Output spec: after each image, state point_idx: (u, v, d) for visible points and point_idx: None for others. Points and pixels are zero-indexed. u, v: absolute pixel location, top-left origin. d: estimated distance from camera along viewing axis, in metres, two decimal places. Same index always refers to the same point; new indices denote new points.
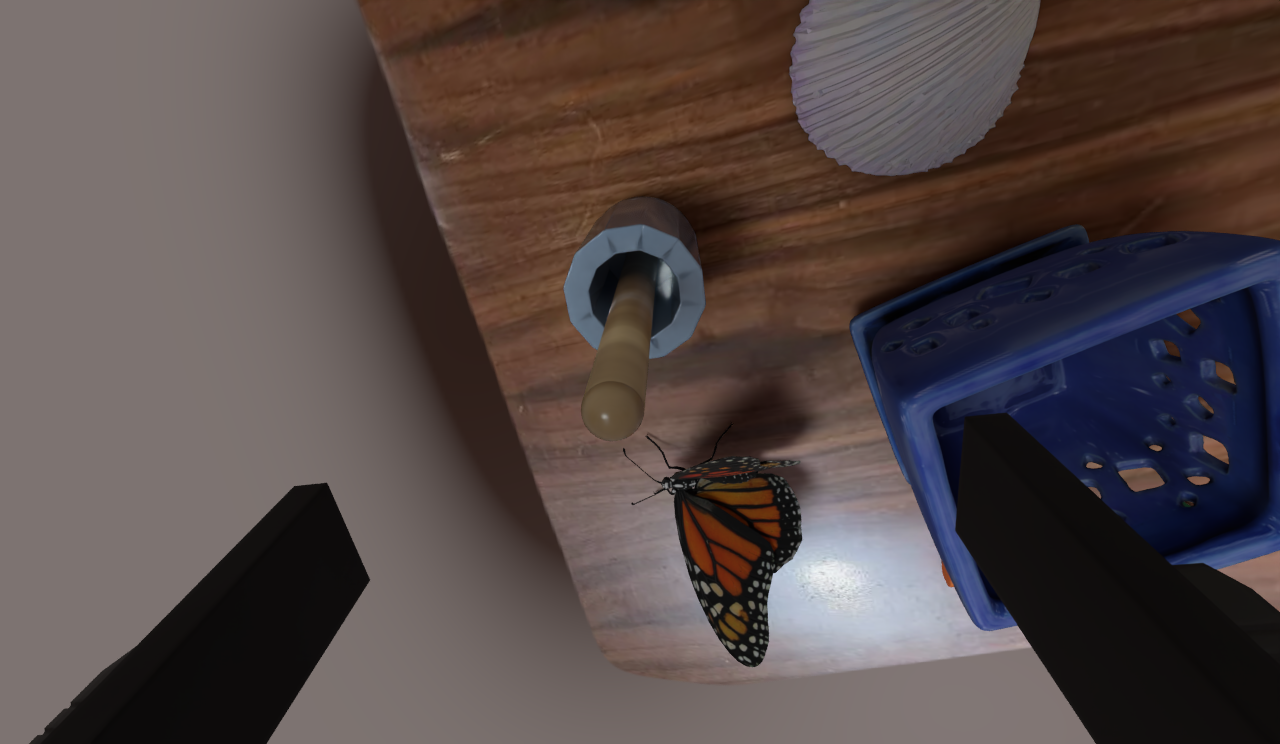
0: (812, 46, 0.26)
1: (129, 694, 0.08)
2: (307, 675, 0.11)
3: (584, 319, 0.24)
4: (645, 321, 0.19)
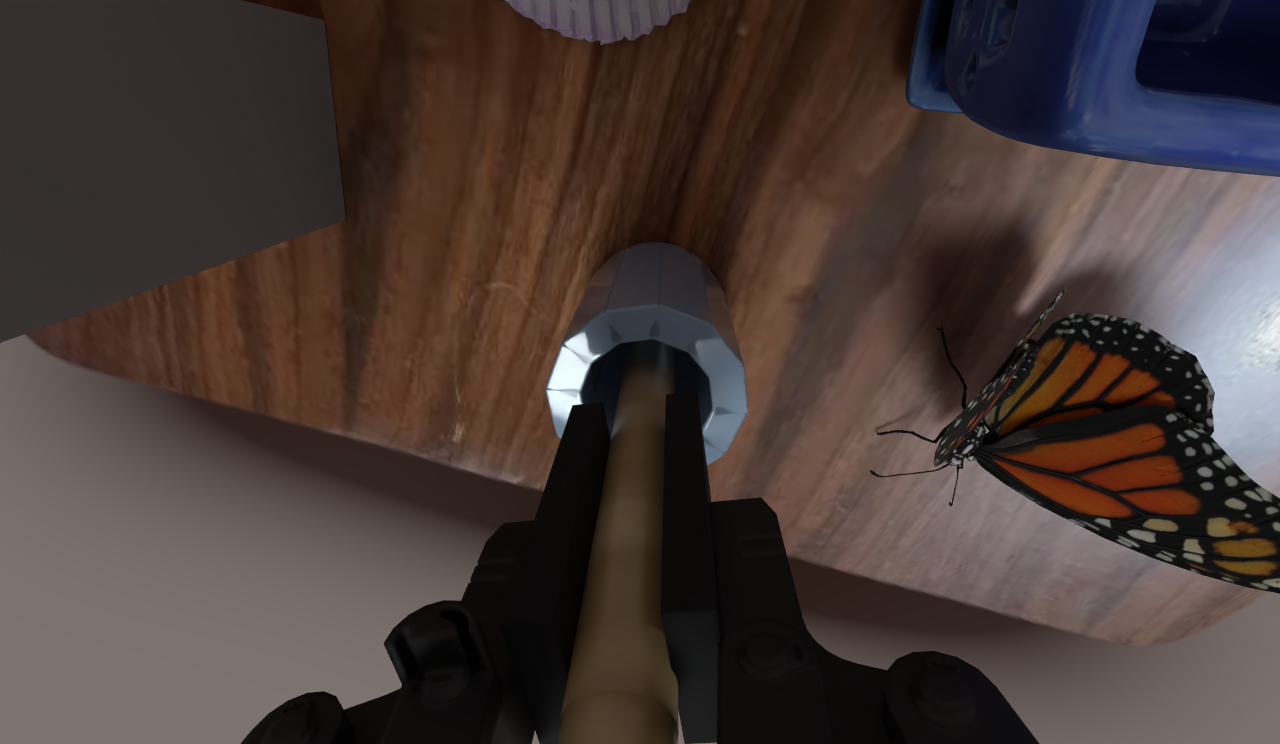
0: None
1: (566, 542, 0.09)
2: None
3: None
4: (632, 463, 0.12)
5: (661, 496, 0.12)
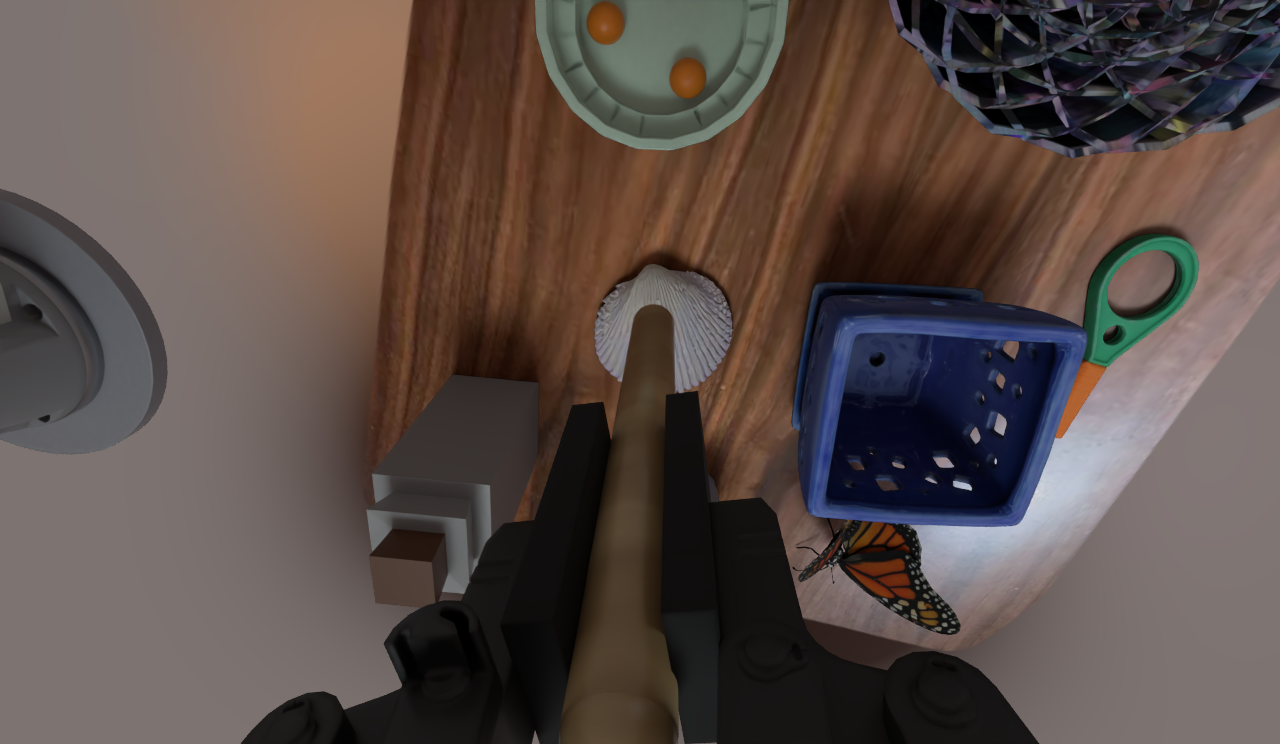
0: None
1: (566, 542, 0.09)
2: None
3: None
4: (632, 465, 0.12)
5: (661, 498, 0.12)
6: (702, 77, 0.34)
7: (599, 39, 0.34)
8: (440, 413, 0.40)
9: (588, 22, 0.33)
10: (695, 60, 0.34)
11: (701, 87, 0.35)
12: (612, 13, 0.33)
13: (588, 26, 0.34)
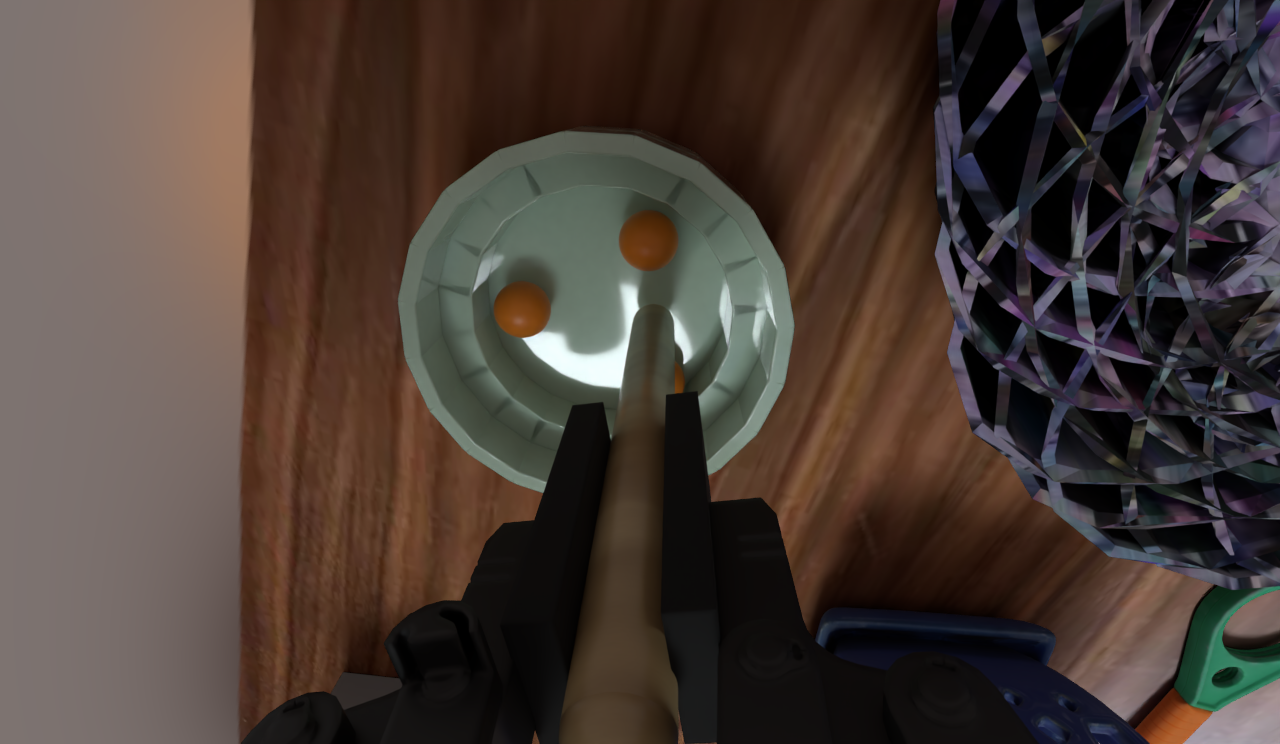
0: None
1: (566, 541, 0.09)
2: None
3: None
4: (632, 464, 0.12)
5: (661, 497, 0.12)
6: (684, 385, 0.24)
7: (512, 335, 0.23)
8: None
9: (494, 313, 0.22)
10: None
11: None
12: (529, 308, 0.22)
13: (495, 317, 0.23)
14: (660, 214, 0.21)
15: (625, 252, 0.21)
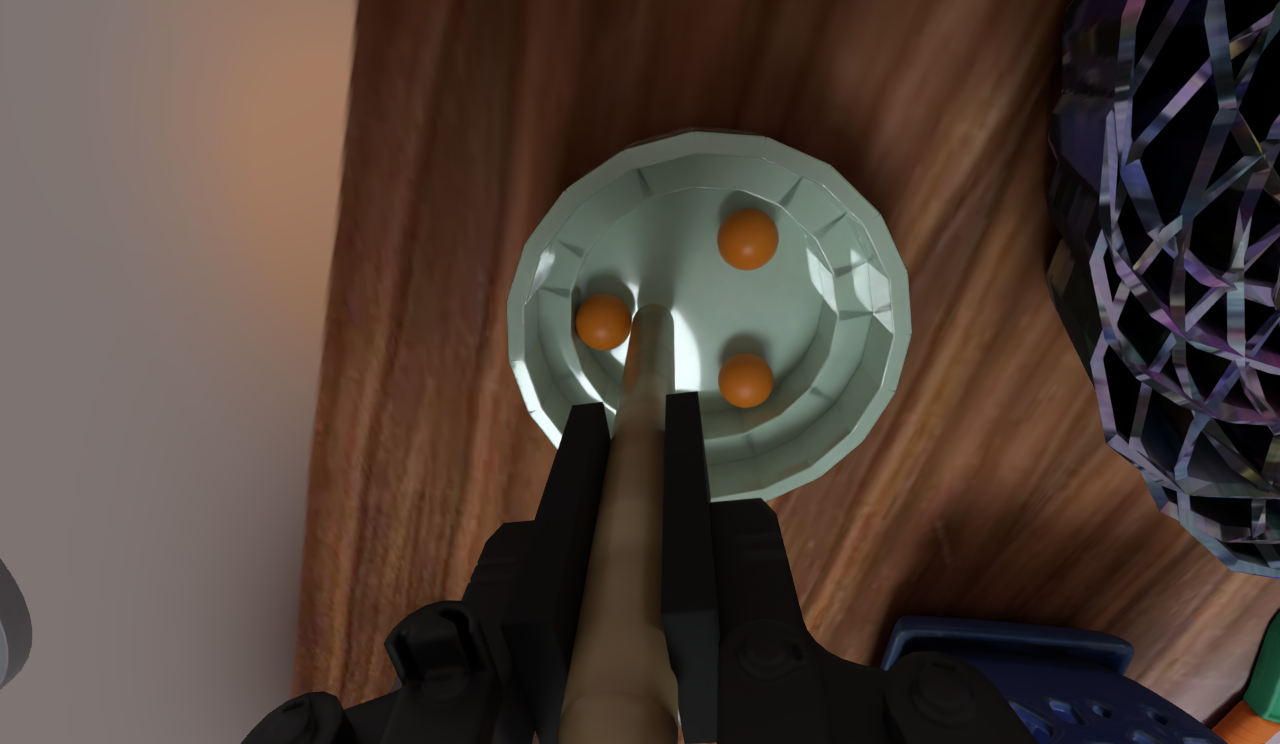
0: None
1: (566, 541, 0.09)
2: None
3: None
4: (632, 463, 0.12)
5: (661, 496, 0.12)
6: None
7: None
8: None
9: None
10: (762, 361, 0.23)
11: None
12: (601, 332, 0.22)
13: (577, 326, 0.23)
14: (763, 212, 0.21)
15: (723, 247, 0.21)
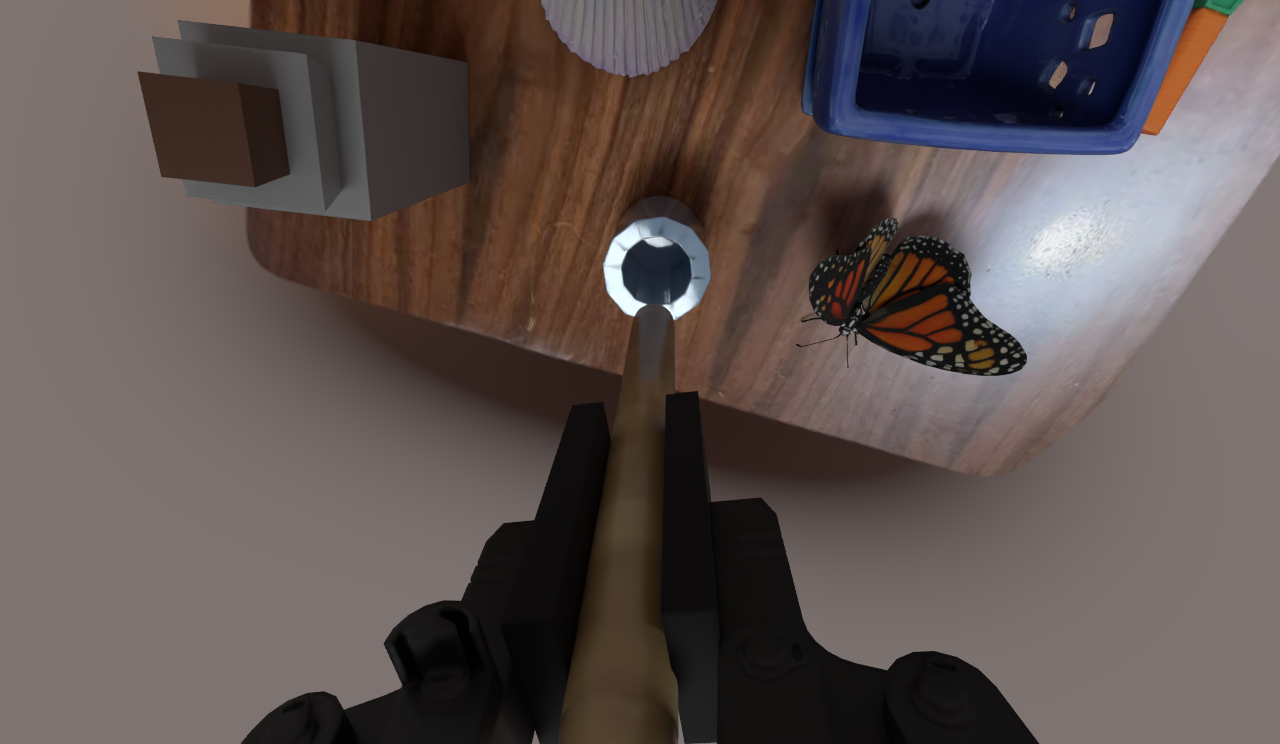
0: (584, 43, 0.33)
1: (566, 541, 0.09)
2: None
3: None
4: (632, 464, 0.12)
5: (661, 497, 0.12)
6: None
7: None
8: None
9: None
10: None
11: None
12: None
13: None
14: None
15: None
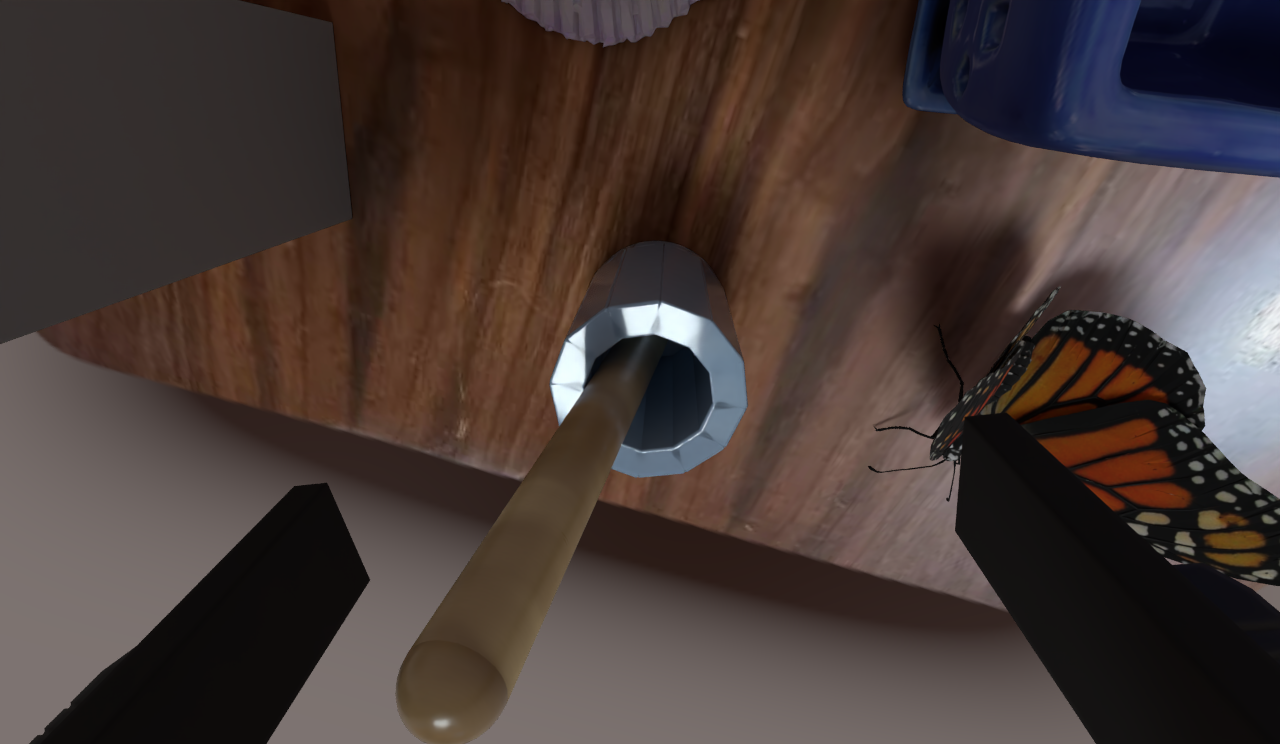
0: None
1: (130, 694, 0.08)
2: (307, 675, 0.11)
3: (642, 462, 0.18)
4: (560, 447, 0.13)
5: (576, 479, 0.12)
6: None
7: None
8: None
9: None
10: None
11: None
12: None
13: None
14: None
15: None
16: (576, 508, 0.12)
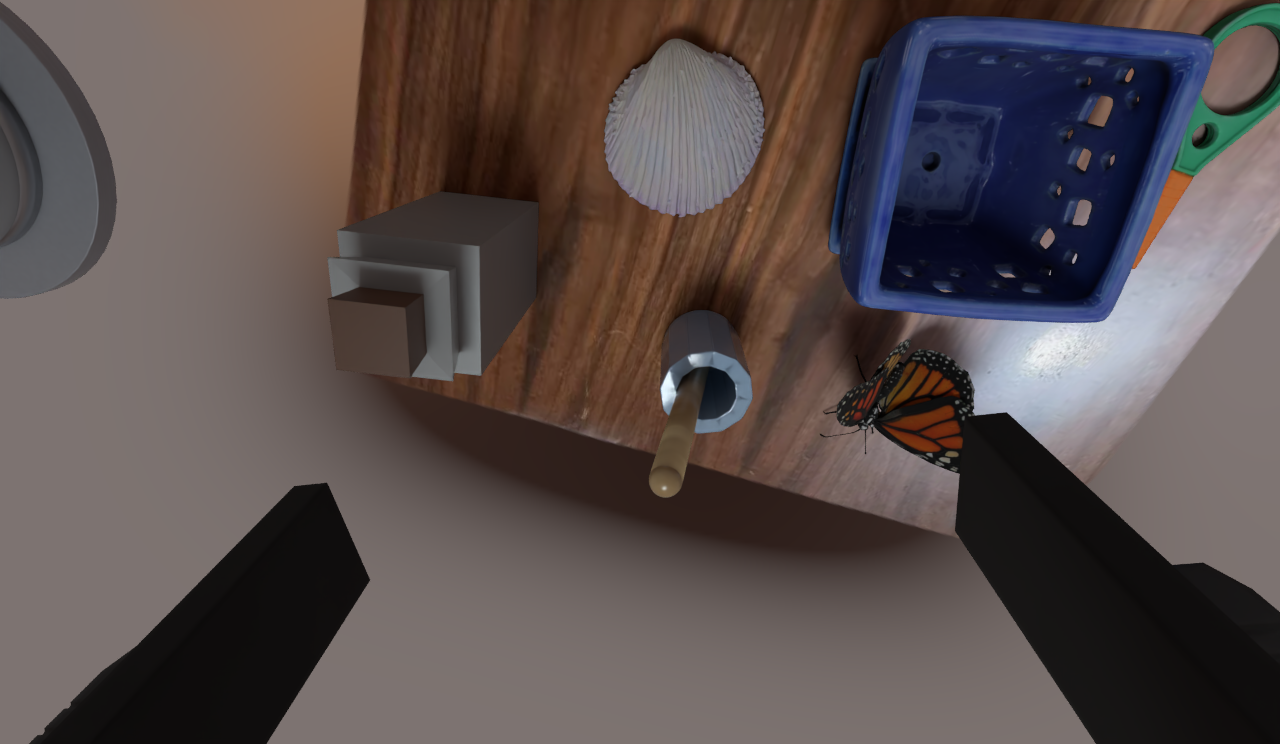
0: (641, 192, 0.38)
1: (130, 694, 0.08)
2: (307, 675, 0.11)
3: (702, 426, 0.37)
4: (678, 414, 0.32)
5: (688, 425, 0.32)
6: None
7: None
8: (424, 207, 0.34)
9: None
10: None
11: None
12: None
13: None
14: None
15: None
16: (689, 435, 0.31)
